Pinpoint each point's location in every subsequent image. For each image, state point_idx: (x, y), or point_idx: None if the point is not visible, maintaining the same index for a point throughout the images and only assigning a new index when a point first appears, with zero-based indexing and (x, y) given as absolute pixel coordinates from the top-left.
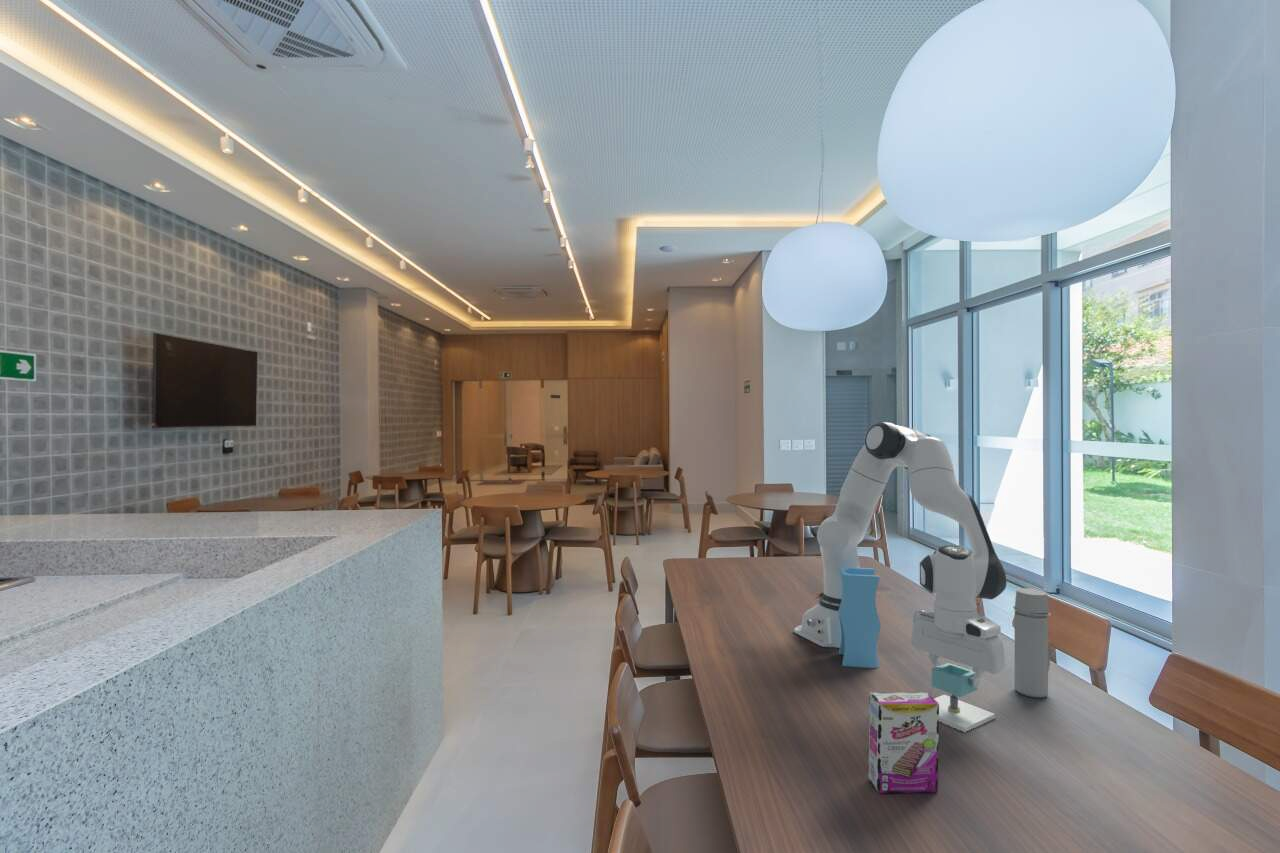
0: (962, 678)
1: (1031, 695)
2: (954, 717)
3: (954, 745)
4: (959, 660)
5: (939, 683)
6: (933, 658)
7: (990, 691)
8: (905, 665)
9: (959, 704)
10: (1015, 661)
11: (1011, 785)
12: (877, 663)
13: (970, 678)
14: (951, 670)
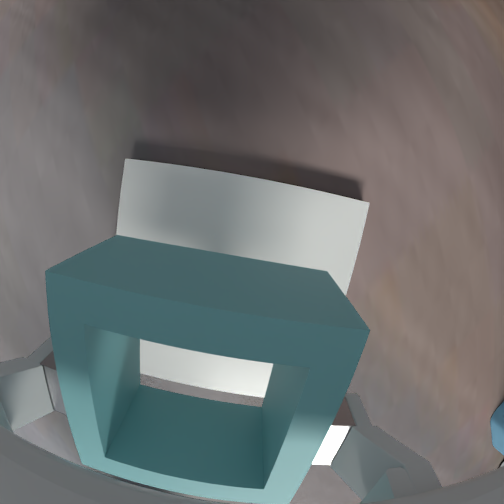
0: (47, 300)
1: None
2: (193, 225)
3: (132, 38)
4: (39, 472)
5: (270, 274)
6: (390, 470)
7: None
8: (435, 469)
9: (231, 363)
10: None
11: (6, 8)
12: (499, 419)
13: (52, 369)
14: (251, 460)
